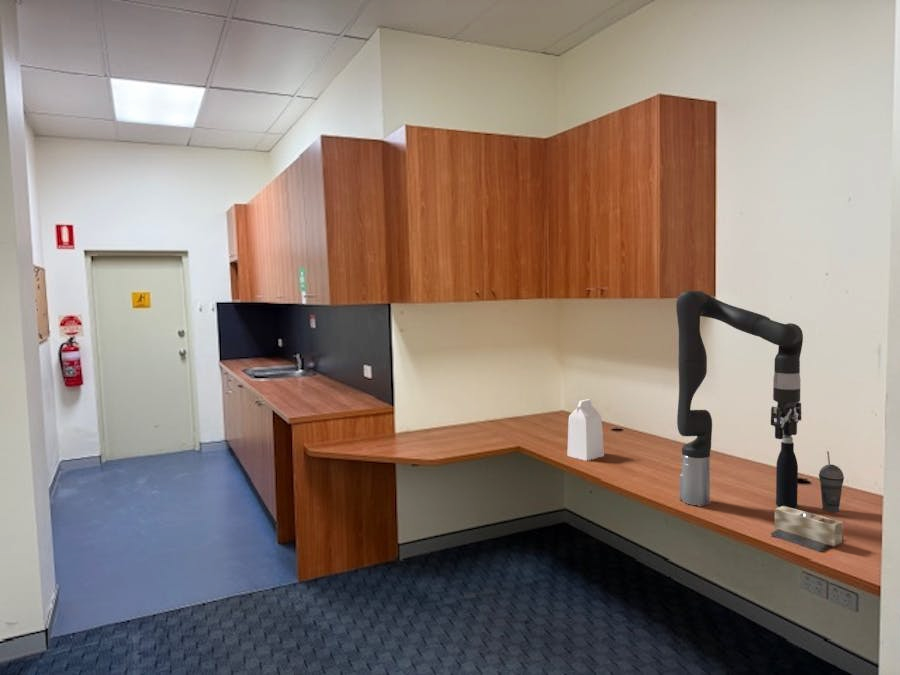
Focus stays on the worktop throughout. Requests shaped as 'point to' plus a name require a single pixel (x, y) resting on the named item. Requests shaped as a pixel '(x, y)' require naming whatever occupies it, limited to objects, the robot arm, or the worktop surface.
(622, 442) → the worktop surface
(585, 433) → the milk
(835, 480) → the grey tapered rounded cylinder
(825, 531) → the bar
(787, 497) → the wine bottle
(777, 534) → the mounting plate
